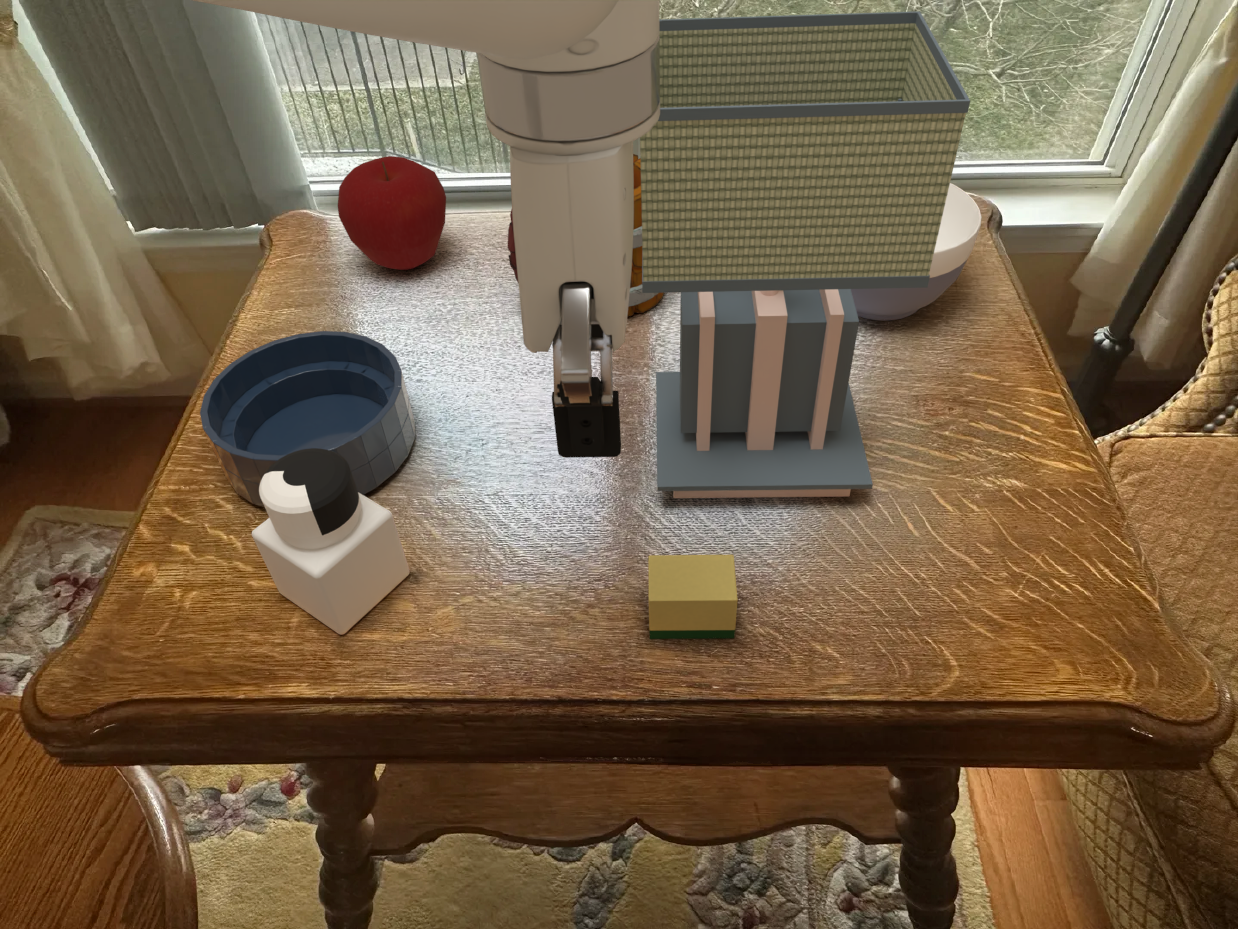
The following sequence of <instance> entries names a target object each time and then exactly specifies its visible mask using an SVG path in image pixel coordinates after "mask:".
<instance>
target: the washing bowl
mask: <svg viewBox="0 0 1238 929" xmlns="http://www.w3.org/2000/svg"><path fill="white" fill-rule="evenodd" d="M199 416H200V421H201V426H202V430H203V432H204V434H205V436H206V439H207V440H208V442H209V444H210V446H211V448H212V451H213V453H214V455H215V456H216V459H217V462H218V463H219V466H220V467H221V470H222V471H223V474H224V477H225V478H226V480H227V481H228V483H229V484H230V486H231V487H232V489H233V490H234V491H235V493H236V494H237V495H239V496H240V497H242V498H244V499H245V500H247V501H248V502H249V503H251V504H253V505H256V506H258V507H262V508H265V507H264V504H263V502H262V500H261V497H260V494H259V486H260V482H261V480H262V478H263V476H264V474H265V473H266V471H267V470H268V469H269V468H270V466H271V465H273V464H274V463H275V462H276V461H277V460H279V459H280V458H282V457H284V456H286V455H288V454H290V453H293V452H295V451H299V450H303V449H311V448H319V449H325V450H329V451H332V452H335V453H337V454H339V455H341V456H342V457H343V458H344V459H345V460H346V461H347V463H348V464H349V467H350V470H351V473H352V476H353V479H354V482H355V485H356V488H357V491H358V492H359V493H360V494H362V495H364V496H365V495H366V494H367V493H370V492H372V491H373V490H376V489H377V488H378V487H379V486H381V485H382V484H383V483H384V482H385V481H387V480H388V479H389V478H390V477H391V476H393V475H394V474H395V473H396V472H397V471H398V470H399V469H400V467H401V466H402V464H404V461H405V460H406V459H407V458H408V456H409V454H410V452H411V449H412V447H413V444H414V441H415V438H416V422H415V421H416V420H415V417H414V413H413V409H412V406H411V401H410V398H409V394H408V388H407V385H406V382H405V378H404V374H403V369H402V368H401V366H400V363H399V361H398V359H397V356H395V354H393V353H392V352H391V351H390V350H389V348H388V347H386V346H385V345H384V344H383V343H381V342H379V341H377V340H375V339H372V338H370V337H368V336H366V335H362V334H357V333H353V332H348V331H339V330H338V331H337V330H319V331H311V332H302V333H296V334H293V335H290V336H285V337H281V338H277V339H275V340H271V341H269V342H267V343H265V344H262V345H260V346H258V347H256V348H254V349H251V350H249V351H248V352H246V353H245V354H242V356H240V357H238V358H237V359H235V360H234V361H232V362H230V364H228V365H227V366H226V367H225V368H223V370H222V371H221V372H220V373H219V374H218V375H216V376H215V377H214V379H213V380H212V382H211V384H210V385H209V386H208V388H207V390H206V391H205V393H204V394H203V398H202V402H201V406H200V411H199Z"/></svg>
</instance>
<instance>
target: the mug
mask: <svg viewBox="0 0 1238 929" xmlns="http://www.w3.org/2000/svg"><path fill="white" fill-rule="evenodd" d="M633 174H634V227H633V251H632V270H631V282H630V293H629V305H628V315H627V318H629V317H633V316H634V314H635V313H636V314H644V313H646V312H648V311H650V310H652V309H653V308H655V307H657V305H658V304H659V303H660V302H661V300H662V299H663V298H664V295H665V293H642V204H641V160H640V158H639V155H638V154H635V153H633ZM509 218H510V222H509V224H508V231H507V250H508V251H509V253H510V254H509V255H508V261H509V265H510V267H511V269H512V270H513V273H514V274H513V275H514V278H515V281H516V282H517V283H518V273H517V263H516V252H515V241H514V229H513V216H512V208H511V209H510V213H509Z"/></svg>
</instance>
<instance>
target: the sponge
mask: <svg viewBox="0 0 1238 929" xmlns="http://www.w3.org/2000/svg"><path fill="white" fill-rule="evenodd" d="M647 563H648V564H647V566H648V571H647V572H648V574H647V575H648V576H647V578H648V579H647V580H648V583H647V584H648V588H647V589H648V590H647V591H648V592H647V594H648V595H647V596H648V598H647V600H648V601H647V602H648V630H649V631H648V633H649V634H648V635H649V639H650V640H676V639H678V640H683V639H684V640H689V639H691V640H692V639H695V640H697V639H698V640H699V639H701V640H702V639H705V640H706V639H710V640H711V639H735V638H736V627H737V626H736V625H737V624H736V623H737V614H738V600H739V599H738V590H737V589H738V588H737V576H736V566H735V555H734V554H655V555H654V554H650V555H648V558H647Z"/></svg>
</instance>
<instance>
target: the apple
mask: <svg viewBox="0 0 1238 929" xmlns="http://www.w3.org/2000/svg"><path fill="white" fill-rule="evenodd" d="M446 210H447V195H446V192H445V189H444V186H443V184H442V183H441V181H440V179H439V177H438V175H437V173H436V172H435V171H434V170H432V169H431V168H428V167H427V166H425V165H423V164H421V163H418V162H417V161H414V160H412V159H410V158H406V157H404V156H394V155H386V156H382V157H378V158H375V159H371V160H368V161H365V162H363V163H361V164H359V165H356V166H355V167H353V169H352V170H351V171H350V172H349V173H348V174H347V175H346V176H345V177H344V179H343V180H342V182H341V183H340V185H339V187H338V197H337V212H338V218H339V221H340V222H341V225H342V226H343V228H344V230H345V232H346V234H347V236H348V237H349V240H350V241H351V242H352V244H353V245H354V246H356V248H357V249H358V250H360V252H361V253H363V255H364V256H366V258H368V260H370V261H371V262H372V263H374V264H376V265H378V266H381V267H384V268H387V269H392V270H398V271H407V270H408V271H409V270H413V269H415V268H417V267H419V266H421V265H423V264H425V263H426V262H428V261H429V260H430V259H432V258H433V257H434V256H435V254H436V252H437V249H438V248H439V243H440V240H441V237H442V234H443V230H444V227H445V224H446V214H447V212H446Z"/></svg>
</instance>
